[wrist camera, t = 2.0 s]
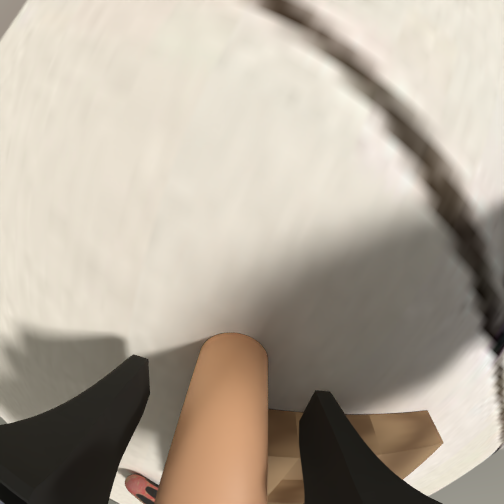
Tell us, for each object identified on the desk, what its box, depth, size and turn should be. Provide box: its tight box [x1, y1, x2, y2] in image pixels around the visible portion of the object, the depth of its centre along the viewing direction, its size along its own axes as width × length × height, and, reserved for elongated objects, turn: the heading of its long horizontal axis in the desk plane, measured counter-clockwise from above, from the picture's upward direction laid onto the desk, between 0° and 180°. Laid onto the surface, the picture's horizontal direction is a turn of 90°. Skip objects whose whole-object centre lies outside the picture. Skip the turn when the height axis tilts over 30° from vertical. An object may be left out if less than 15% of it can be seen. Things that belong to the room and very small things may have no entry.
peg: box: [154, 333, 268, 504], centre depth 8 cm, size 3×3×8 cm
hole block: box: [267, 409, 443, 504], centre depth 13 cm, size 14×10×3 cm
